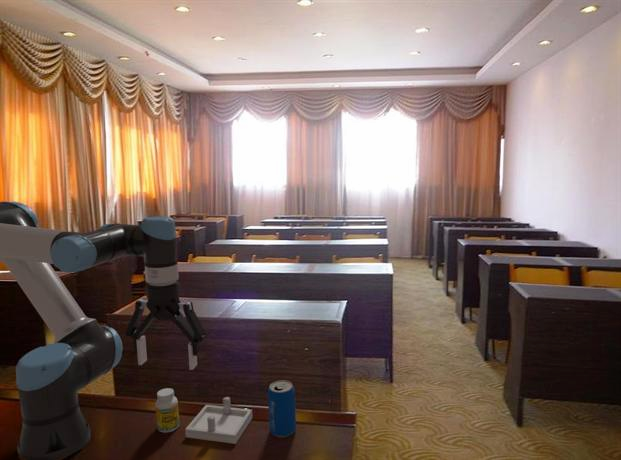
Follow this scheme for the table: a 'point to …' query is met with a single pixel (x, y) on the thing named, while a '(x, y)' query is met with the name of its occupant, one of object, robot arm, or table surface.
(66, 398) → the robot arm
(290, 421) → the beverage can
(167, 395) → the supplement bottle
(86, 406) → the table surface
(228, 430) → the tray
